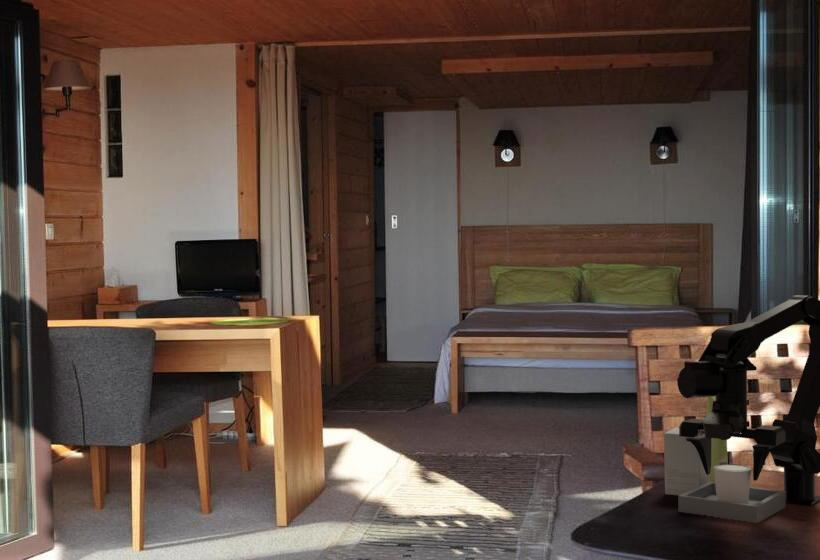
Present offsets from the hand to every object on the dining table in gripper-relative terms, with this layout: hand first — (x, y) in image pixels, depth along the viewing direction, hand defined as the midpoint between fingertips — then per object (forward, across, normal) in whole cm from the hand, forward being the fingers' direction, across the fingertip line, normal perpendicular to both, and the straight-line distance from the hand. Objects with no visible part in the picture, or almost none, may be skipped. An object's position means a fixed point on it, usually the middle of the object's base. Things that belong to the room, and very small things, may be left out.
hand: (731, 477), depth 200 cm
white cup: (+5, 0, 0) cm, 5 cm away
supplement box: (+6, -12, +8) cm, 16 cm away
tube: (+6, -12, +22) cm, 26 cm away
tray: (+6, 0, 0) cm, 6 cm away
